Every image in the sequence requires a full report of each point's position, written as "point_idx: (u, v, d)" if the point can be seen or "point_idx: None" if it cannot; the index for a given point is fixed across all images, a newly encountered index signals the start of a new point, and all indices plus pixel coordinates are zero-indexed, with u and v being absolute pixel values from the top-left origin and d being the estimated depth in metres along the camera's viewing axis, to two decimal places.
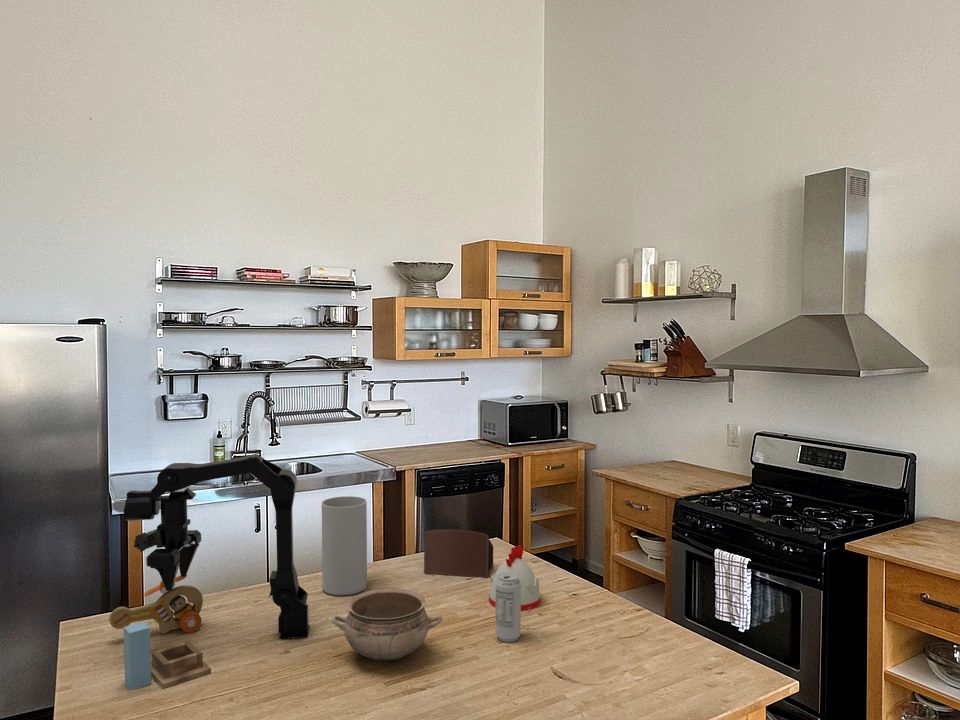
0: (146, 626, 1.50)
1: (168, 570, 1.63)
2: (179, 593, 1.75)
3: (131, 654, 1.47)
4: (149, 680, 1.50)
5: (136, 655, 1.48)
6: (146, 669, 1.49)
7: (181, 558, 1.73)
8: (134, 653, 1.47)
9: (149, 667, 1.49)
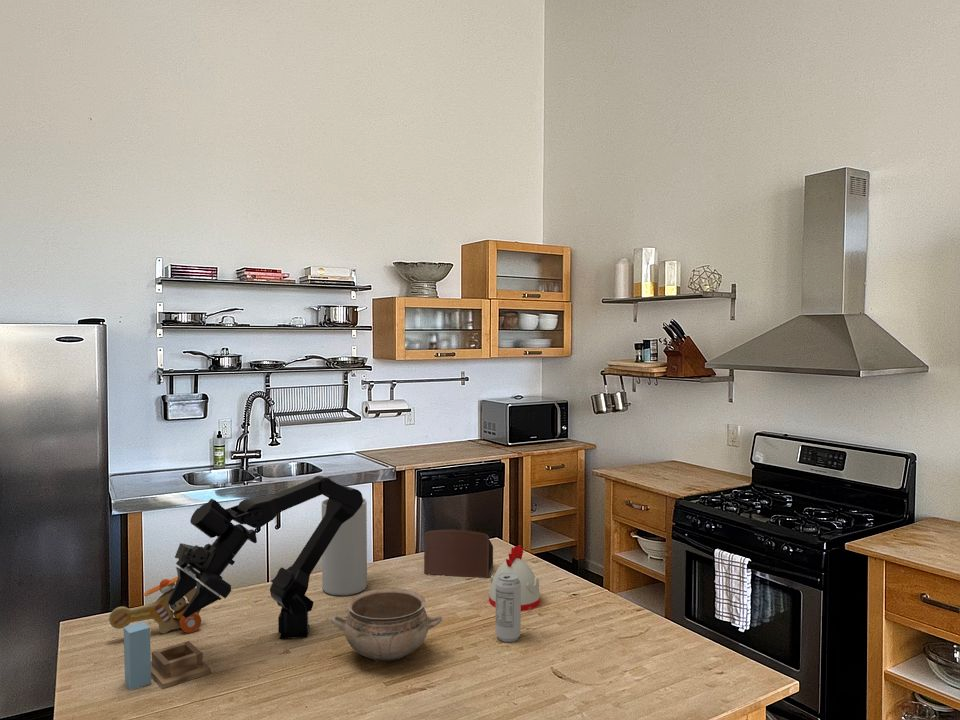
0: (146, 626, 1.50)
1: (204, 598, 1.53)
2: None
3: (131, 654, 1.47)
4: (149, 680, 1.50)
5: (136, 655, 1.48)
6: (146, 669, 1.49)
7: (181, 585, 1.60)
8: (134, 653, 1.47)
9: (149, 667, 1.49)
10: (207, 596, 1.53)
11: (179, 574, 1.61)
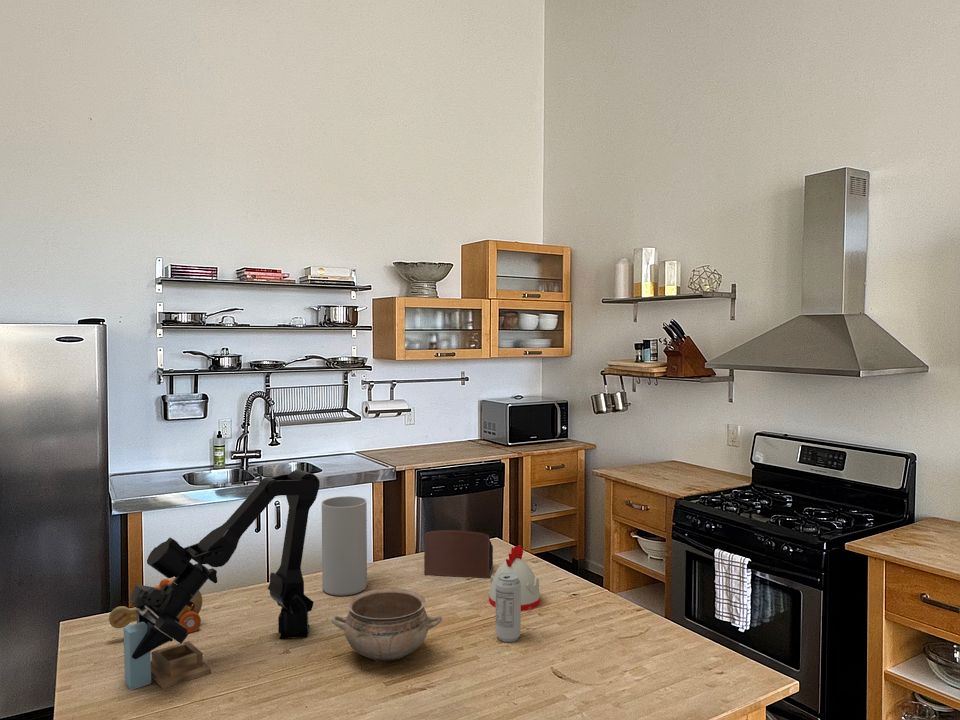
0: (146, 626, 1.50)
1: (155, 639, 1.49)
2: None
3: (131, 654, 1.47)
4: (149, 680, 1.50)
5: None
6: (146, 669, 1.49)
7: None
8: None
9: (149, 667, 1.49)
10: (158, 637, 1.49)
11: (138, 619, 1.53)
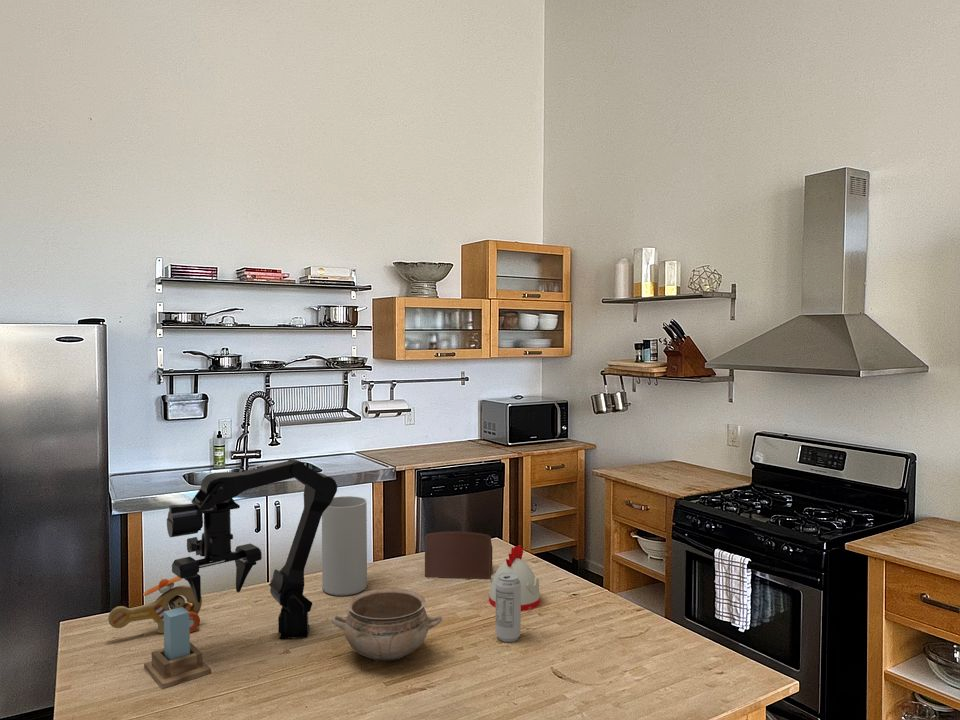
0: (185, 611, 1.55)
1: None
2: (178, 593, 1.75)
3: (171, 637, 1.52)
4: None
5: (176, 638, 1.53)
6: (185, 652, 1.54)
7: (237, 572, 1.67)
8: (175, 636, 1.53)
9: (188, 650, 1.55)
10: None
11: None
